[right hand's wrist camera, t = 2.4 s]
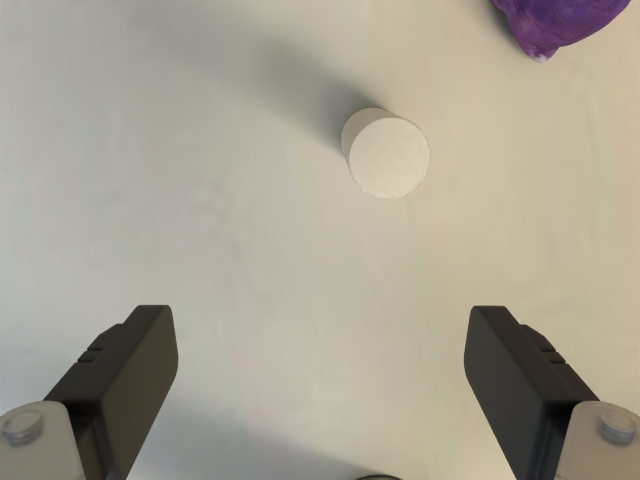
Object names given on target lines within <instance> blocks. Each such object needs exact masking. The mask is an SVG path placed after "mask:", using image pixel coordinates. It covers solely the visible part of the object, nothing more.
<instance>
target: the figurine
mask: <svg viewBox="0 0 640 480" xmlns="http://www.w3.org/2000/svg"><path fill="white" fill-rule="evenodd" d="M630 1H631V0H492V2H493V4H494V5H495V6H496V7H497V8H499V9H500V10H502V11H503V12H504V13H505V15H506V17H507V20H508V23H509V26H510V29H511V32H512V33H513V35H514V37H515V38H516V40H517V41H518V43H519V45H520V46H521V48H522V49H523V51H524V52H525V53H526V54H527V55H528V56H529V57H530V58H531V59H533V60H534V61H536V62H539V63H543V62H545V61H547V60H548V59H549V58H551V57H552V55H553V54H554V53H555V52H556V51H557V49H558V48H559V47H562V46H567V45H571V44H573V43H576V42H578V41H580V40H582V39H584V38H586V37H588V36H590V35H592V34H594V33H595V32H597V31H599V30H600V29H602V28H603V27H605V26H606V25H607V24H609V23H610V22H611V21H612V20H613V19H614V18H615V17H616V16H617V15H618V14H619V13H620V12H622V11H623V10H624V9H625V8H626V6H627V5H628V4H629V2H630Z"/></svg>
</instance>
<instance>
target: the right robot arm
mask: <svg viewBox="0 0 640 480" xmlns="http://www.w3.org/2000/svg"><path fill="white" fill-rule="evenodd" d="M177 368H178V350H177V343H176V336H175V330H174V323H173V316H172V311H171V308H170V307H169V306H168V305H138V306H137V307H136V308H135V309H134V311H133V312H132V313H131V314H130V316H129V317H128V318H127V319H126V321H125V322H124V323H123V324H116V325H114V326H112V327H111V328H109V329H108V330H106V331H105V332H103V333H101V334H100V335H99V336H98V337H97V338H96V339H95V340H94V341H93V343H92V344H91V345H90V346H89V347H88V348H87V351H85V352H84V353H83V354H82V355H81V356H80V358H79V359H78V362H77V363H74V365H73V366H72V367H71V368H70V369H69V370H68V371H67V373H66V374H65V375H64V376H63V377H62V378H61V380H60V381H59V382H58V383H57V384H56V385H55V387H54V388H53V389H52V390H51V391H50V392H49V394H48V395H47V396H46V397H45V398H44V399H43V400H42V401H39V402H33V403H29V404H26V405H23V406H20V407H18V408H15V409H13V410H11V411H9V412H7V413H6V414H4V415H2V416H1V417H0V480H126V478H127V476H128V474H129V472H130V470H131V468H132V466H133V464H134V462H135V460H136V457H137V455H138V453H139V451H140V449H141V447H142V445H143V443H144V441H145V439H146V437H147V435H148V433H149V431H150V429H151V427H152V424H153V422H154V420H155V418H156V416H157V414H158V412H159V410H160V408H161V406H162V404H163V402H164V400H165V398H166V396H167V394H168V391H169V389H170V387H171V385H172V383H173V381H174V379H175V376H176V373H177ZM464 368H465V373H466V377H467V379H468V382H469V384H470V386H471V388H472V390H473V392H474V394H475V396H476V398H477V400H478V402H479V404H480V406H481V408H482V410H483V412H484V414H485V416H486V418H487V420H488V422H489V424H490V426H491V428H492V430H493V433H494V435H495V437H496V439H497V441H498V443H499V445H500V447H501V449H502V451H503V453H504V455H505V457H506V459H507V461H508V463H509V465H510V467H511V469H512V471H513V473H514V475H515V477H516V479H517V480H640V417H639V416H638V415H636V414H634V413H633V412H631V411H629V410H627V409H625V408H622V407H620V406H617V405H614V404H611V403H607V402H601V401H600V400H599V399H598V398H597V396H596V395H595V394H594V393H593V392H592V391H591V390H590V388H589V387H588V386H587V385H586V384H585V383H584V381H583V380H582V379H581V378H580V377H579V376H578V375H577V373H576V372H575V371H574V370H573V369H572V368H571V367H570V365H569V364H566V362H565V360H564V359H563V357H562V356H561V355H560V354H559V353H558V352H556V349H555V348H554V347H553V346H552V345H551V344H550V342H549V341H548V340H547V339H546V338H545V337H544V336H543V335H541V334H540V333H538V332H537V331H535V330H534V329H532V328H530V327H529V326H527V325H520V324H519V323H518V322H517V321H516V319H515V318H514V317H513V316H512V314H511V313H510V312H509V311H508V309H507V308H506V307H504V306H474V307H473V308H472V310H471V313H470V318H469V325H468V332H467V339H466V345H465V352H464ZM362 480H397V479H394V478H390V477H369V478H365V479H362Z"/></svg>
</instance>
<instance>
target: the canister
mask: <svg viewBox="0 0 640 480" xmlns="http://www.w3.org/2000/svg"><path fill="white" fill-rule="evenodd" d="M341 146H342V149H343V152H344V155H345V159H346V162H347V165H348V168H349V171H350V174H351V176H352V178H353V180H354V182H355V183H356V184H357V186H358V187H359V188H360V189H361V190H363V191H364V192H365V193H367V194H369V195H371V196H373V197H376V198H381V199H393V198H397V197H401V196H403V195H406V194H407V193H409V192H411V191H412V190H414V189H415V188H416V187H417V186H418V185H419V184H420V183H421V181H422V180H423V178H424V177H425V175H426V173H427V170H428V167H429V163H430V148H429V144H428V141H427V139H426V137H425V135H424V133H423V132H422V131H421V130H420V128H419V127H417V126H416V125H415V124H414V123H412V122H411V121H408V120H406V119H404V118H402V117H399V116H397V115H394V114H392V113H390V112H387V111H385V110H383V109H379V108H365V109H362V110H359V111H357V112H356V113H354V114H353V115H352V116H351V117H350V118H349V119H348V120H347V121H346V123H345V125H344V127H343V129H342V133H341Z"/></svg>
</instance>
